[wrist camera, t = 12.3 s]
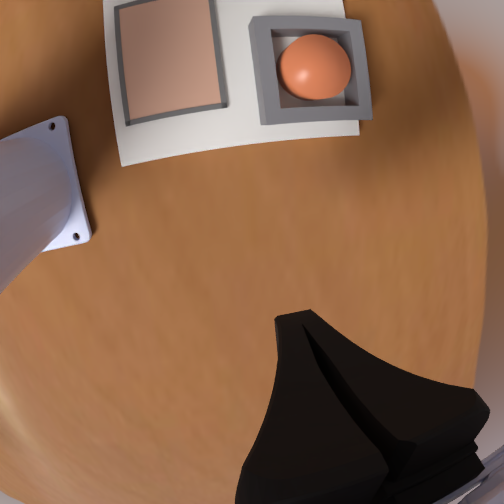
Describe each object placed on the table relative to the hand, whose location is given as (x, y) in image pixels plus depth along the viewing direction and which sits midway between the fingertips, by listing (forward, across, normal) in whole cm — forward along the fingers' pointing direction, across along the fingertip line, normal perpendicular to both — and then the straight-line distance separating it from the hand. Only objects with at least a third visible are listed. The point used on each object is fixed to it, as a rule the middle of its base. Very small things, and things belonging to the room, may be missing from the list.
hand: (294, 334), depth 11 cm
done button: (+9, -4, -10) cm, 14 cm away
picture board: (+9, 0, -16) cm, 19 cm away
